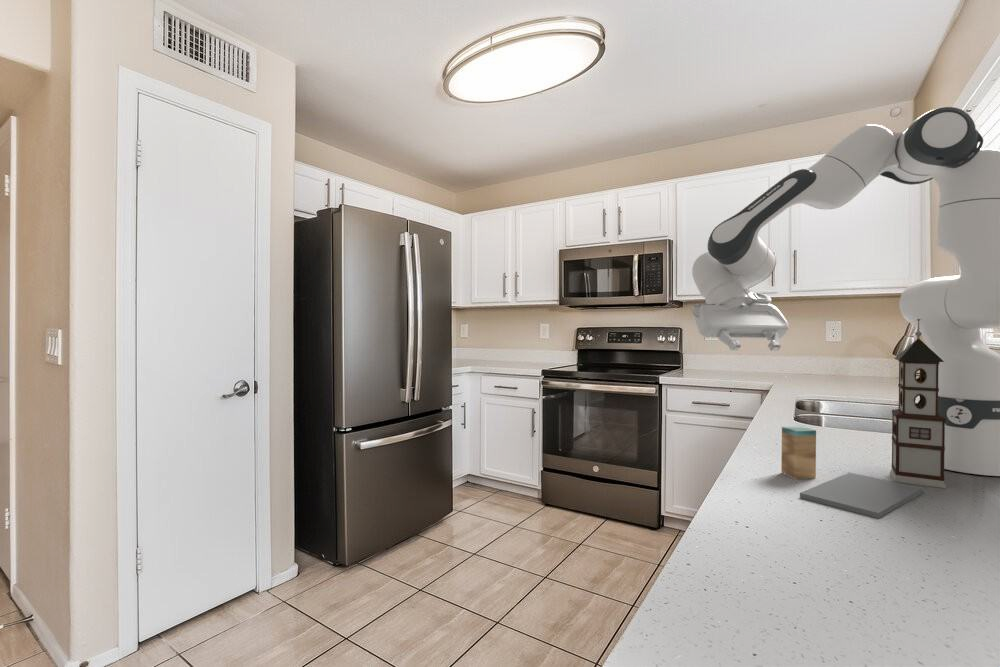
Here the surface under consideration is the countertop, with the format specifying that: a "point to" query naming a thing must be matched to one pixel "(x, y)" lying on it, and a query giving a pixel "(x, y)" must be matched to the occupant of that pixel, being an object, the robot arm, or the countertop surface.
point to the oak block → (799, 452)
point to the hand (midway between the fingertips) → (756, 348)
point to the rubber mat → (862, 494)
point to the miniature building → (918, 419)
